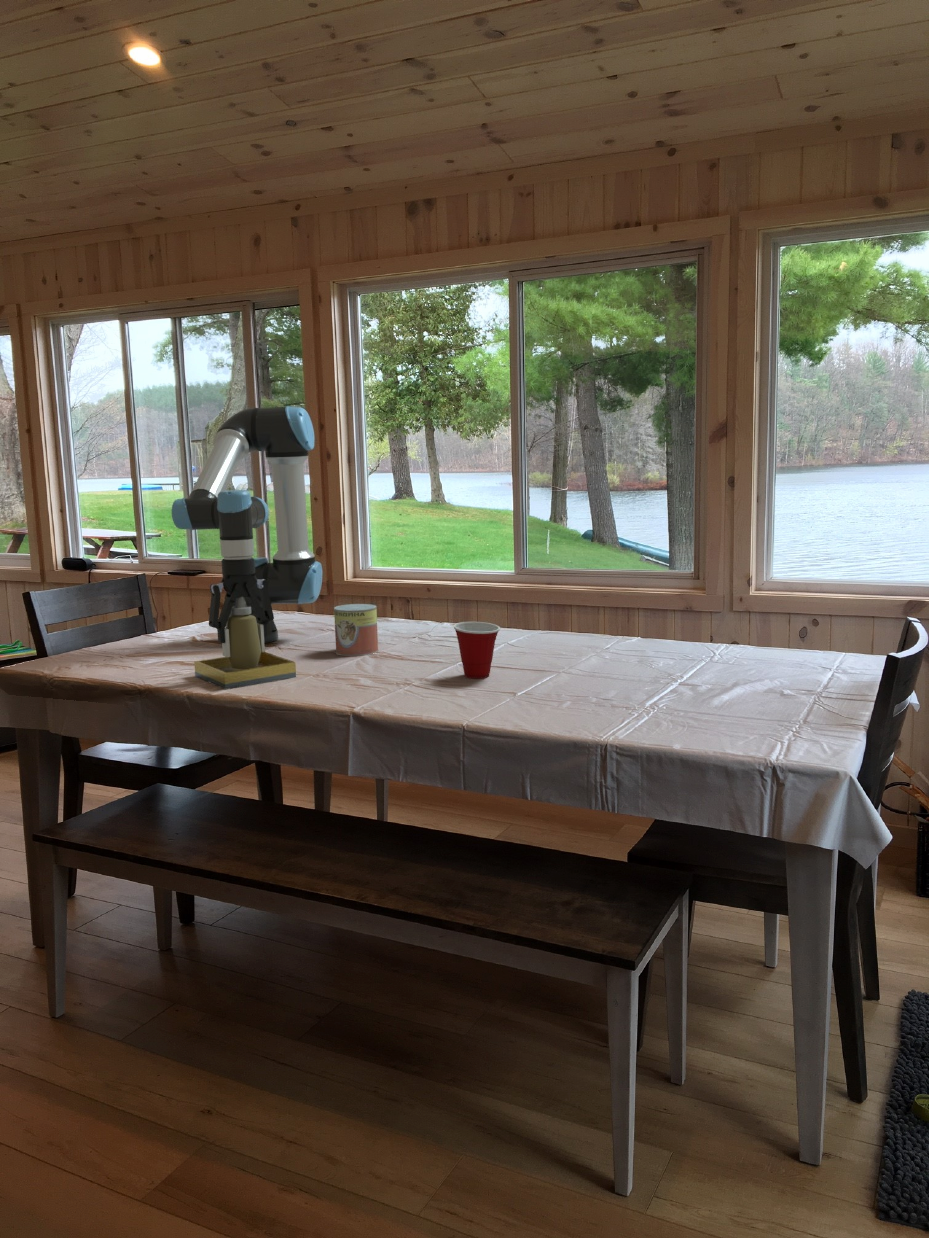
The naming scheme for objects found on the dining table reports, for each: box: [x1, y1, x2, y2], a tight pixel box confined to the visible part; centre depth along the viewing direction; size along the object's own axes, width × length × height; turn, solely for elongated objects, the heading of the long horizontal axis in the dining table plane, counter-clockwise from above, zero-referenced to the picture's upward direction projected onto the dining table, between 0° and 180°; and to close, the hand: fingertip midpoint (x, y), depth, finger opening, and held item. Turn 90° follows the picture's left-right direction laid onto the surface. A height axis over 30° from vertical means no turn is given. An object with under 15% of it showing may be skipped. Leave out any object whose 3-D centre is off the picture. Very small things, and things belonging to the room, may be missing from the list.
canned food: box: [333, 603, 379, 657], centre depth 246 cm, size 11×11×12 cm
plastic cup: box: [453, 621, 501, 679], centre depth 215 cm, size 11×11×12 cm
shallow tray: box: [193, 651, 297, 690], centre depth 220 cm, size 18×18×4 cm
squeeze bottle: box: [227, 597, 261, 669], centre depth 218 cm, size 8×8×18 cm
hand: (244, 653), depth 219 cm, fingers closed on squeeze bottle, 8 cm apart
